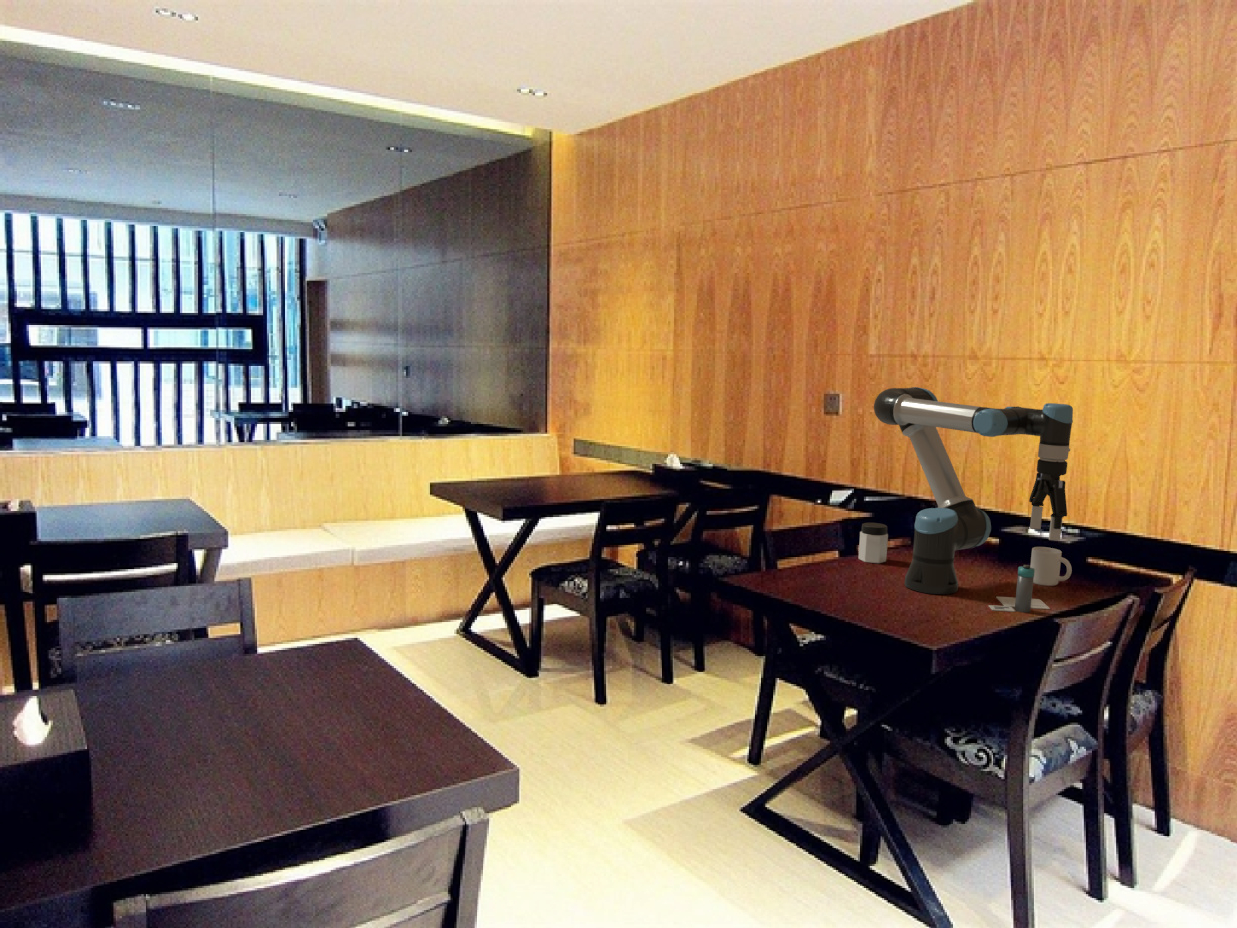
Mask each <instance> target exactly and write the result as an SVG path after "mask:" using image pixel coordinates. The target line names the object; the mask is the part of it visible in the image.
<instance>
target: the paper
mask: <svg viewBox="0 0 1237 928" xmlns="http://www.w3.org/2000/svg"><path fill="white" fill-rule="evenodd" d="M995 598H996V599H997V601H999V602H1000V604H1002V606H1010V607H1012V608H1015V601H1016V597H1012V596H1011V597H1010V596H996V597H995ZM1031 609H1034V610H1035V609H1037V610H1050V609H1051V608H1050V607H1049V606H1048V605H1047V604H1045V602H1043V601H1042V600H1041V599H1039V598H1032V601H1031Z"/></svg>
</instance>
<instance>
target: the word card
mask: <svg viewBox="0 0 1237 928" xmlns="http://www.w3.org/2000/svg"><path fill="white" fill-rule="evenodd" d="M988 607H989V609H991V611H995V612H1012V613H1016V610H1015V608H1014V607H1010V606H1004V605H994V604H993V605H992V604H988Z"/></svg>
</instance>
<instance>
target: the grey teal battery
mask: <svg viewBox="0 0 1237 928" xmlns="http://www.w3.org/2000/svg"><path fill="white" fill-rule="evenodd" d="M1030 565H1031V564H1023V566H1022V565H1021V566H1018V568H1017V580H1016V590H1015V593H1016V594H1015V598H1016V601H1015V607H1014V610H1015V612H1018V613H1022V614H1023V613H1024V614H1026V613H1031V611H1032V610H1031V609H1032V608H1031V601H1032V599H1033V598H1032V597H1033V589H1034V583H1033V580H1034V572H1035V569H1034V568H1031V567H1030Z"/></svg>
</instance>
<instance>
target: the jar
mask: <svg viewBox="0 0 1237 928" xmlns="http://www.w3.org/2000/svg"><path fill="white" fill-rule="evenodd" d="M888 540H889V533H888V526H887V525H886V524H884V523H878V522H864V523H862V524H861V530H860V531H859V543H858V544H859V545H858V560H860V561H862V562H864V563H868V564H869V563H872V564H881V563H885V562H887V553H888Z"/></svg>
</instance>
